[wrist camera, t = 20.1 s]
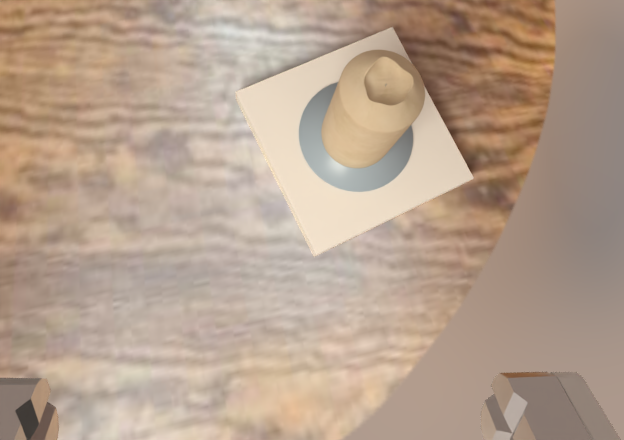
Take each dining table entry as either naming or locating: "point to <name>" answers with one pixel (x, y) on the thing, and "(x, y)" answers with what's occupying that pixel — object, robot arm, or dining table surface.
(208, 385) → the dining table surface
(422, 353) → the dining table surface
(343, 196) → the base board
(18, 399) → the robot arm
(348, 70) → the candle
